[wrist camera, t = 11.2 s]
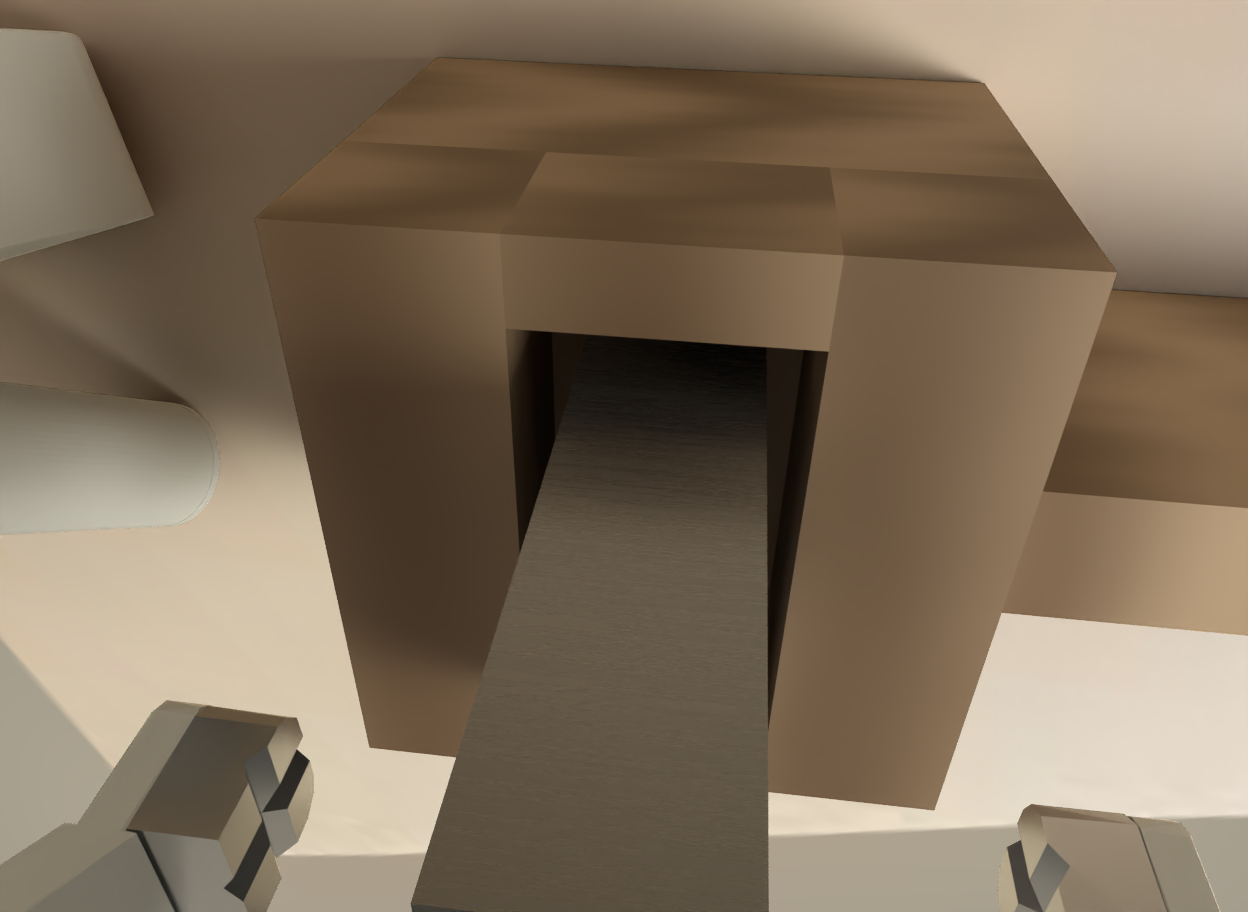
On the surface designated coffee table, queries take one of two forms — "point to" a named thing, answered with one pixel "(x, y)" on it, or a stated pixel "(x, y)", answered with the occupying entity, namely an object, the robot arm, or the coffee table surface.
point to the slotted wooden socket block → (796, 383)
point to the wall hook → (47, 216)
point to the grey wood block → (627, 658)
